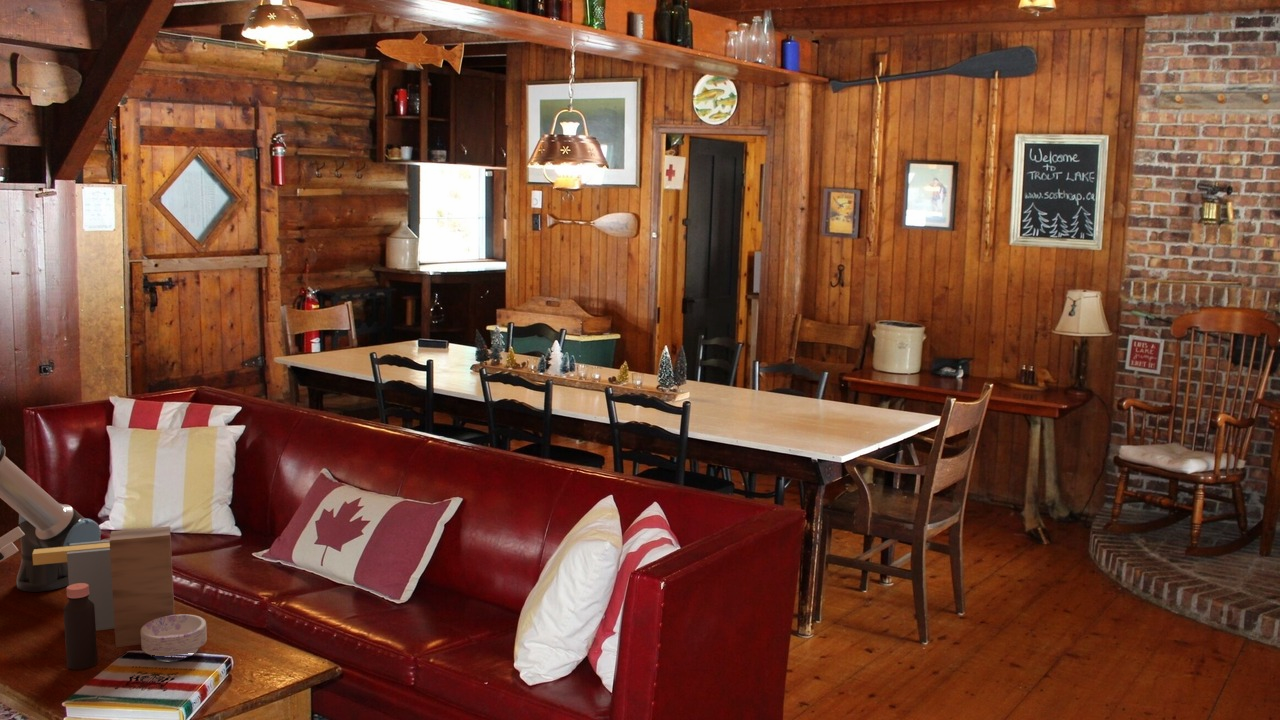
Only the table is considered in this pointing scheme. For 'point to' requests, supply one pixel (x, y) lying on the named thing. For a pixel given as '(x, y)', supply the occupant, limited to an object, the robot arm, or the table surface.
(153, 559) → the walnut pedestal
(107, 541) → the grey u cradle
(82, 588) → the bottle
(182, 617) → the paper bowls
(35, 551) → the ochre bar
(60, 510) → the robot arm
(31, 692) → the table surface
